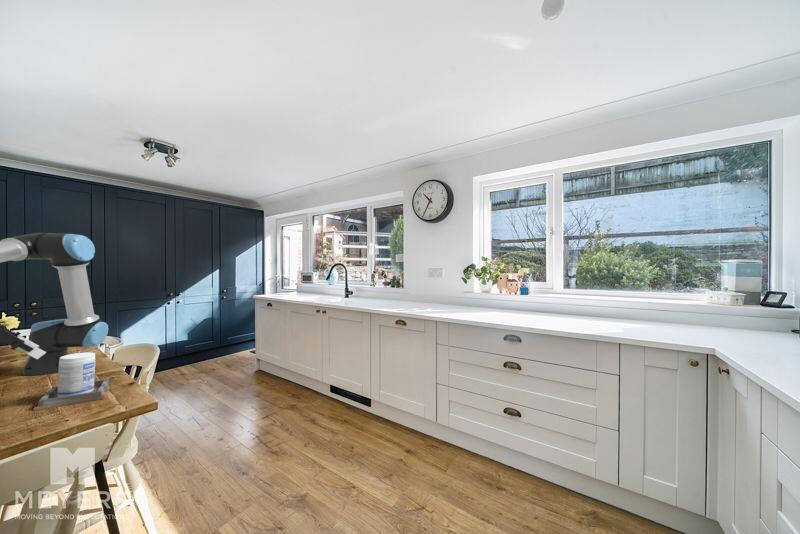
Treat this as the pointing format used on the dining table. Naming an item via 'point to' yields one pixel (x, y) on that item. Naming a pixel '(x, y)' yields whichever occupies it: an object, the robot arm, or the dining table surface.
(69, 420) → the dining table surface
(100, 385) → the dock
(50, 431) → the dining table surface
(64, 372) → the supplement tub
